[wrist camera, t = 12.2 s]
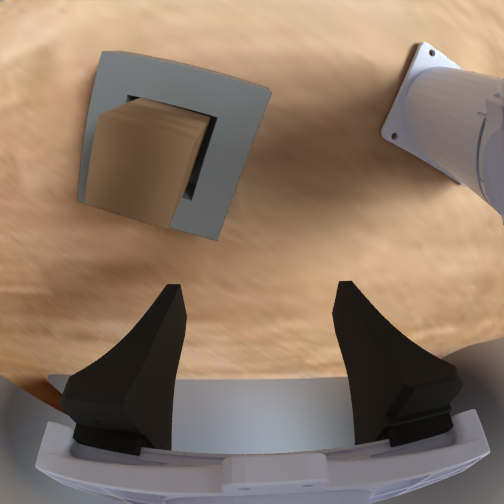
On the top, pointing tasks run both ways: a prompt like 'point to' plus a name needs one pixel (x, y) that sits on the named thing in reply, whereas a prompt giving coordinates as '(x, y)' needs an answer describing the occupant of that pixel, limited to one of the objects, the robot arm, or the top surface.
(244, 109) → the socket block
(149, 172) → the walnut peg
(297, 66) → the top surface
